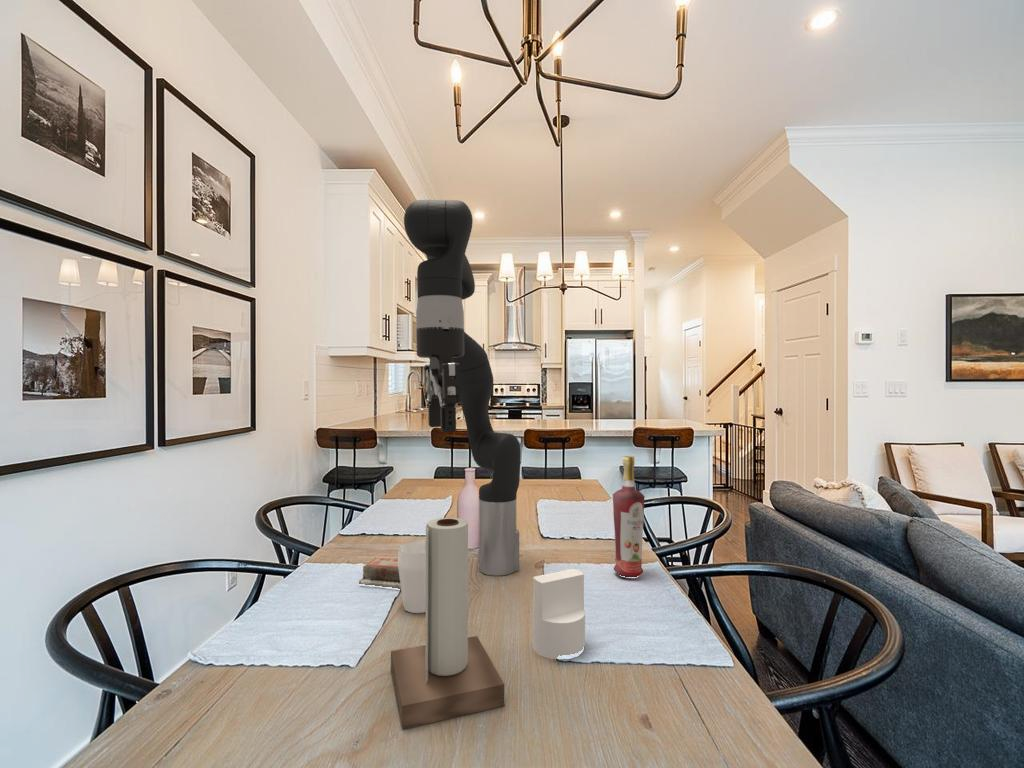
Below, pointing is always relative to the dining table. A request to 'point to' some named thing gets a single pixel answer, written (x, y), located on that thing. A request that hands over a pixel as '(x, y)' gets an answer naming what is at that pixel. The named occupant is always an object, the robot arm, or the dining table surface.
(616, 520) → the liquor
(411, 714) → the walnut stand
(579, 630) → the cylinder with rectangular tab
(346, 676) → the dining table surface
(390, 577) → the packaged product
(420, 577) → the cup
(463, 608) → the paper towel roll
